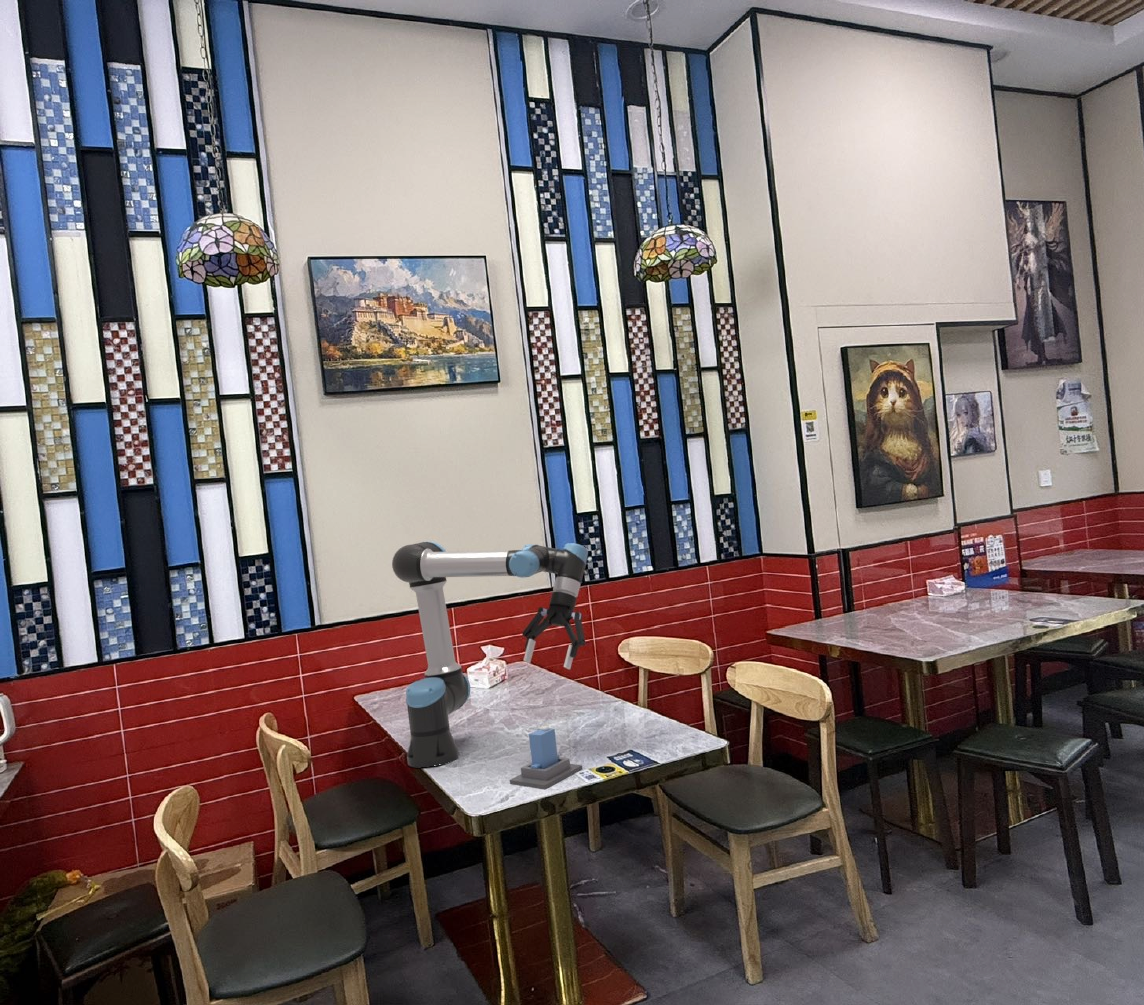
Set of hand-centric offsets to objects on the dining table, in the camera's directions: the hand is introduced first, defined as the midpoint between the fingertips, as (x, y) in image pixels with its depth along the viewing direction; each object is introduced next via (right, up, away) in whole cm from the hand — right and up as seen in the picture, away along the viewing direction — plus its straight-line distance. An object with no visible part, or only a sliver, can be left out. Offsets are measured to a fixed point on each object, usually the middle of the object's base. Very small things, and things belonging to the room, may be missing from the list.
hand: (546, 665), depth 237 cm
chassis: (+1, -27, -16) cm, 31 cm away
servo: (+1, -26, -16) cm, 30 cm away
